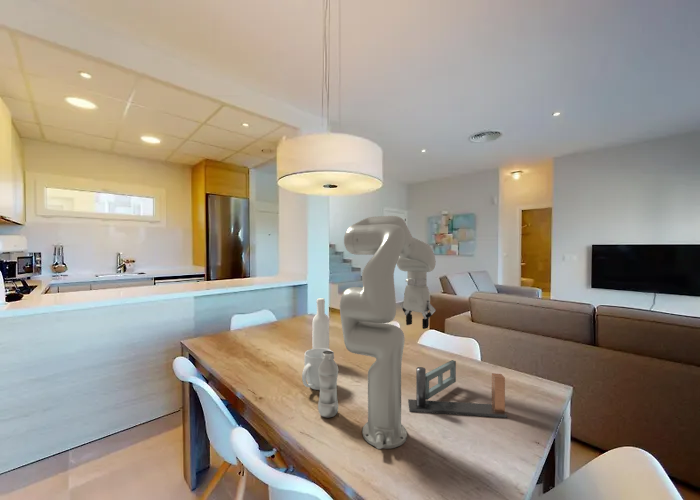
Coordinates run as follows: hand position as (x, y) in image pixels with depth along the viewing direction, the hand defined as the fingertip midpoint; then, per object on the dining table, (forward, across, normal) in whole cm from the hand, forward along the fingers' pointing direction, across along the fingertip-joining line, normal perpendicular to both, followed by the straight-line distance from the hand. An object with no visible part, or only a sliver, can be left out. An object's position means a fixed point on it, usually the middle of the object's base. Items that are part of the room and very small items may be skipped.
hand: (417, 326), depth 120 cm
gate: (+20, +13, -5) cm, 24 cm away
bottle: (+22, -41, -18) cm, 50 cm away
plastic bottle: (+22, -5, -42) cm, 48 cm away
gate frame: (+22, +22, -10) cm, 32 cm away
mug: (+22, -22, -34) cm, 46 cm away
